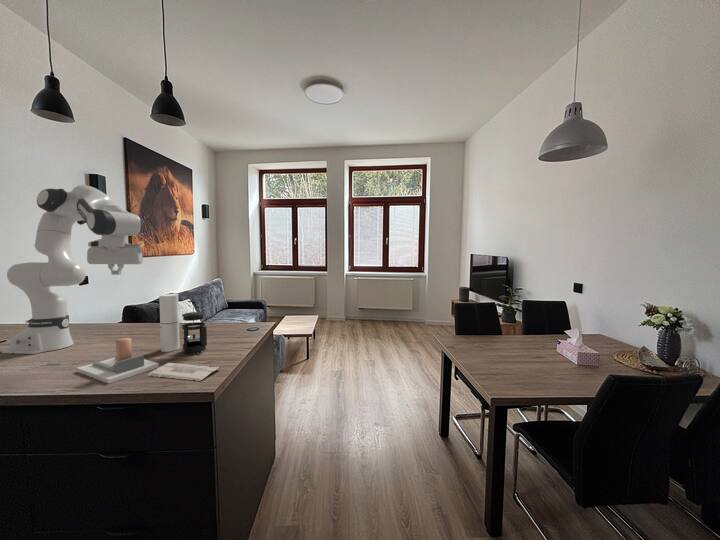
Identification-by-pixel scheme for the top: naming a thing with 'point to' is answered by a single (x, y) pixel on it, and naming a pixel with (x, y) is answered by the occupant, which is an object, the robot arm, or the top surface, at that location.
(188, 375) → the newspaper
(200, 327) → the french press
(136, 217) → the robot arm
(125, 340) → the knob plunger
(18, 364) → the top surface
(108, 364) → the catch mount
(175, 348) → the cylindrical container
